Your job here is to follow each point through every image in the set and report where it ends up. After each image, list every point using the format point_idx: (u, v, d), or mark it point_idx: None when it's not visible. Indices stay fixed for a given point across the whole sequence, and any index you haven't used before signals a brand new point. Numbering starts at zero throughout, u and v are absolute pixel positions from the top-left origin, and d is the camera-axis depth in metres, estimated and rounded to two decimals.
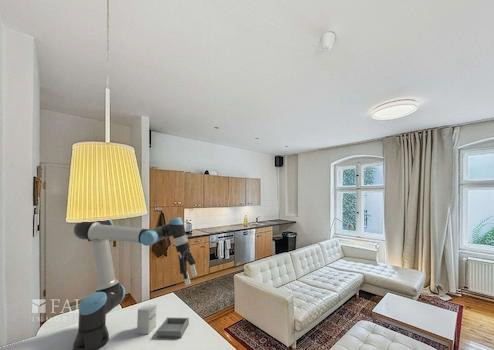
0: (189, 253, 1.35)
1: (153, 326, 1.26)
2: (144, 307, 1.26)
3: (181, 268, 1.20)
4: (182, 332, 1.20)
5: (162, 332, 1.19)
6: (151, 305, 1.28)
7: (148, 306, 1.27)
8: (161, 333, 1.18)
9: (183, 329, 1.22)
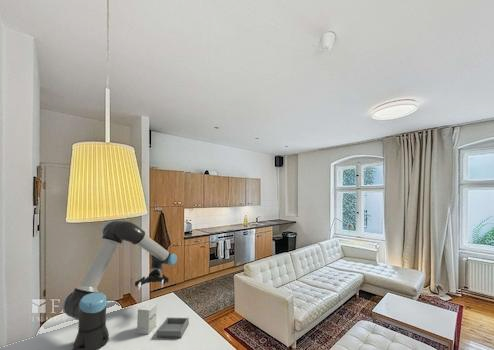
0: None
1: (153, 326, 1.26)
2: (144, 307, 1.26)
3: None
4: (182, 332, 1.20)
5: (162, 332, 1.19)
6: (151, 305, 1.28)
7: (148, 306, 1.27)
8: (161, 333, 1.18)
9: (183, 329, 1.22)
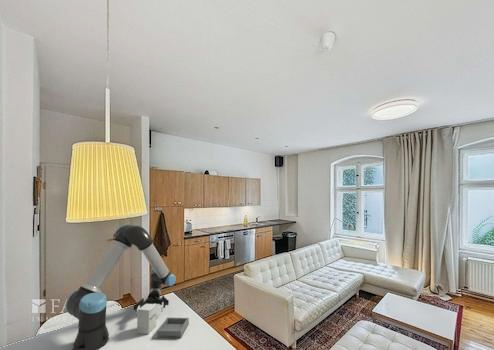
0: None
1: (153, 326, 1.26)
2: (144, 307, 1.26)
3: None
4: (182, 332, 1.20)
5: (162, 332, 1.19)
6: (151, 305, 1.28)
7: (148, 306, 1.27)
8: (161, 333, 1.18)
9: (183, 329, 1.22)
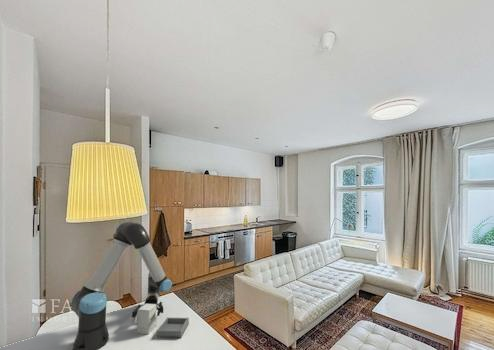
0: None
1: (153, 326, 1.26)
2: (144, 307, 1.26)
3: (162, 308, 1.33)
4: (182, 332, 1.20)
5: (162, 332, 1.19)
6: (151, 305, 1.28)
7: (148, 306, 1.27)
8: (161, 333, 1.18)
9: (183, 329, 1.22)
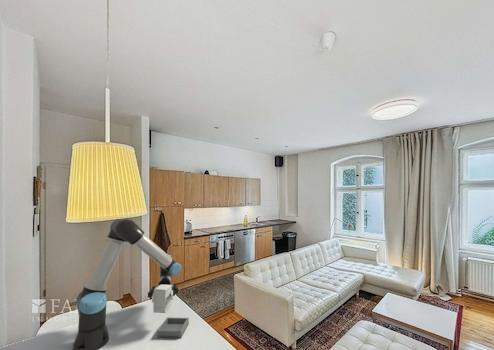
0: None
1: (169, 306, 1.28)
2: (160, 287, 1.27)
3: None
4: (182, 332, 1.20)
5: (162, 332, 1.19)
6: (166, 285, 1.30)
7: (164, 286, 1.29)
8: (161, 333, 1.18)
9: (183, 329, 1.22)
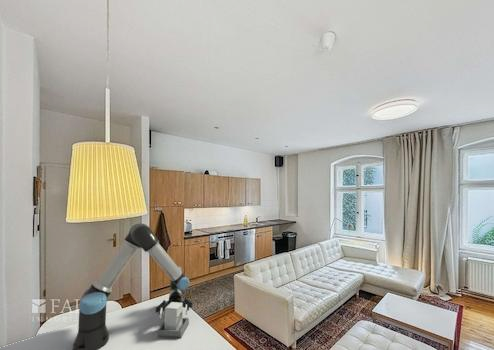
0: None
1: (180, 324, 1.25)
2: (171, 305, 1.25)
3: None
4: (182, 332, 1.20)
5: (162, 332, 1.19)
6: (177, 303, 1.27)
7: (175, 304, 1.26)
8: (161, 333, 1.18)
9: (183, 329, 1.22)
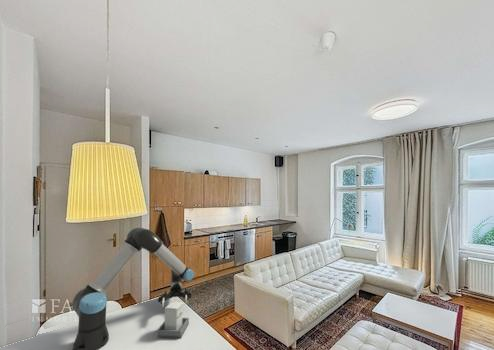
0: (166, 296, 1.46)
1: (180, 324, 1.25)
2: (171, 305, 1.25)
3: None
4: (182, 332, 1.20)
5: (162, 332, 1.19)
6: (177, 303, 1.27)
7: (175, 304, 1.26)
8: (161, 333, 1.18)
9: (183, 329, 1.22)
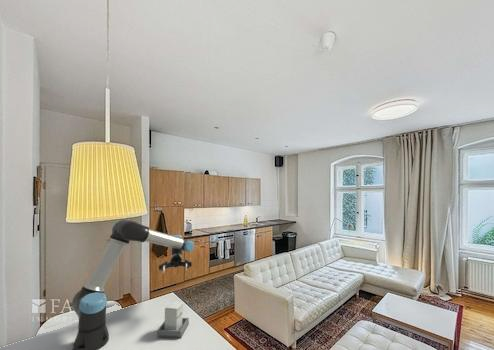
0: None
1: (180, 324, 1.25)
2: (171, 305, 1.25)
3: None
4: (182, 332, 1.20)
5: (162, 332, 1.19)
6: (177, 303, 1.27)
7: (175, 304, 1.26)
8: (161, 333, 1.18)
9: (183, 329, 1.22)
